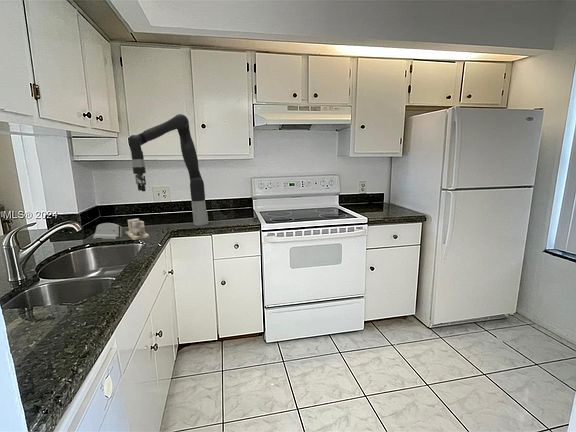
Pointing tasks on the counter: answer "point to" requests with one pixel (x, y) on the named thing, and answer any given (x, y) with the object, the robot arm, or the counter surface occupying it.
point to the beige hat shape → (137, 231)
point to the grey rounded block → (107, 231)
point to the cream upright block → (131, 224)
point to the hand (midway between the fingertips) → (141, 190)
